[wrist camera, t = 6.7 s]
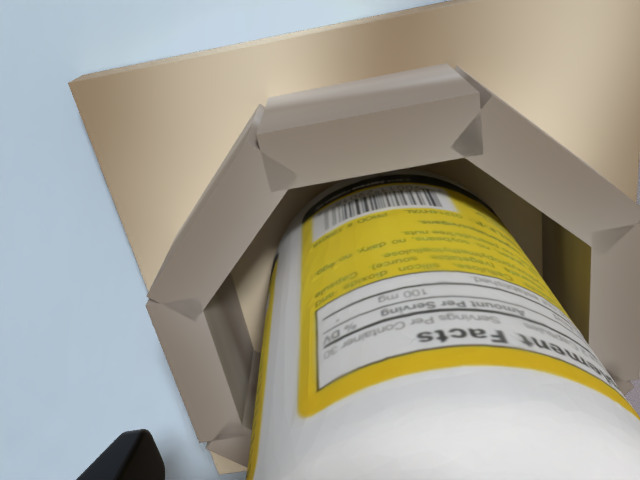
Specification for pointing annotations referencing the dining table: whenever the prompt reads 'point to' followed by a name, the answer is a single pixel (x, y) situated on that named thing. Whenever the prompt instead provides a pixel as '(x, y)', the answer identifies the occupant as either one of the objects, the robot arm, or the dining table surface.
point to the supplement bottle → (425, 349)
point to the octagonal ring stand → (373, 166)
